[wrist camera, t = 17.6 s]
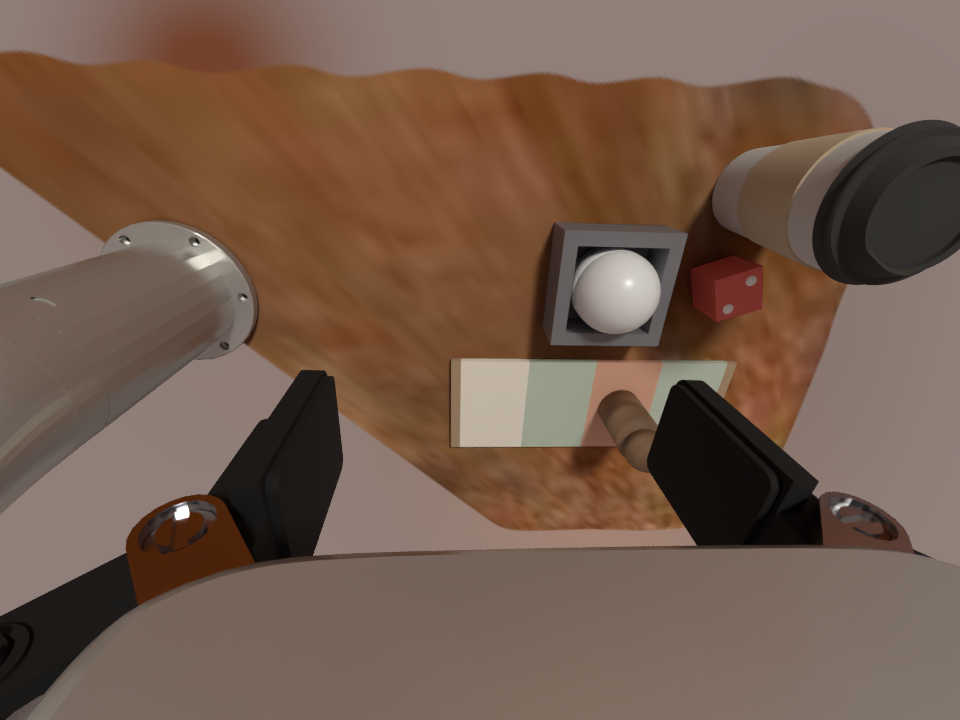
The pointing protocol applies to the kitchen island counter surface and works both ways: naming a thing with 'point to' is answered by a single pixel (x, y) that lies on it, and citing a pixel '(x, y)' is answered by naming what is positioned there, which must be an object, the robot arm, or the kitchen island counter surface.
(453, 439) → the game board
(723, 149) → the kitchen island counter surface
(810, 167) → the coffee cup
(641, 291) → the dome
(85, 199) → the kitchen island counter surface
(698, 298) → the red die
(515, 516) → the kitchen island counter surface
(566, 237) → the base
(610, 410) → the walnut pawn
